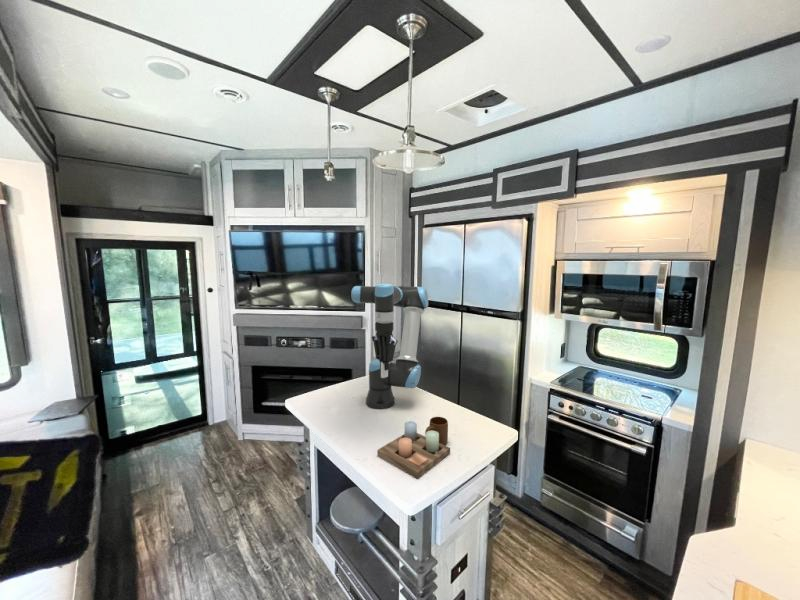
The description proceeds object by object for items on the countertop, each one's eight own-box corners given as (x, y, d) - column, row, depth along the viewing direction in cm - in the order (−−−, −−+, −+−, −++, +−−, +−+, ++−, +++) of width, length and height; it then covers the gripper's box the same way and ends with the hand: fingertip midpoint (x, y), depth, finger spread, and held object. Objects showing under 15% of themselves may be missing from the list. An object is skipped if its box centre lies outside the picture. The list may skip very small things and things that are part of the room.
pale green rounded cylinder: (430, 443, 131) (431, 429, 130) (441, 448, 127) (441, 433, 127) (423, 448, 127) (423, 434, 126) (433, 453, 124) (433, 438, 123)
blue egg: (409, 433, 138) (409, 420, 137) (419, 437, 135) (419, 424, 134) (401, 438, 134) (402, 424, 134) (411, 442, 131) (411, 428, 130)
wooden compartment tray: (410, 435, 141) (410, 428, 141) (450, 453, 128) (450, 446, 128) (377, 455, 127) (377, 448, 126) (417, 479, 113) (417, 470, 113)
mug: (433, 454, 128) (433, 431, 127) (418, 446, 133) (418, 424, 132) (451, 442, 136) (451, 420, 135) (436, 435, 142) (437, 414, 140)
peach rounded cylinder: (404, 450, 128) (404, 436, 128) (414, 455, 125) (414, 440, 124) (396, 456, 125) (396, 441, 124) (405, 461, 121) (405, 446, 121)
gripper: (366, 320, 136) (367, 375, 139) (389, 325, 128) (389, 383, 130) (379, 318, 142) (379, 371, 145) (402, 322, 133) (402, 378, 136)
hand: (384, 376), depth 137 cm, fingers closed
